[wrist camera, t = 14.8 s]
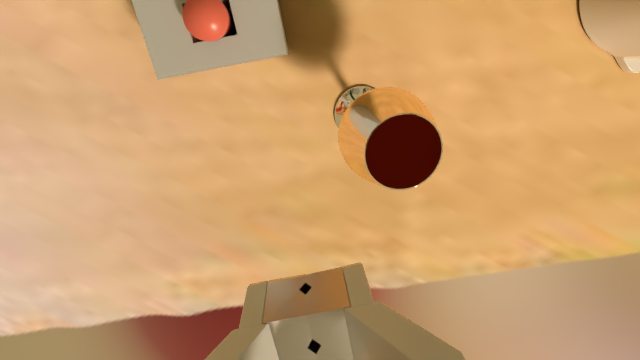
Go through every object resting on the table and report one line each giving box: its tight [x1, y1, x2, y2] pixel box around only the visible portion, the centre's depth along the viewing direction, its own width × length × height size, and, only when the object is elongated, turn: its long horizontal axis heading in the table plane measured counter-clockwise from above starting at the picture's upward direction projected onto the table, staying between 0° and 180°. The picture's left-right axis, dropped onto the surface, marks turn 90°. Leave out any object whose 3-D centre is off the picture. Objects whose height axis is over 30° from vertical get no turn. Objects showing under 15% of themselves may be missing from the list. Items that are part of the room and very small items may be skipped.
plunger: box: [183, 0, 237, 42], centre depth 33 cm, size 4×4×9 cm
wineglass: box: [334, 86, 443, 190], centre depth 34 cm, size 8×8×18 cm
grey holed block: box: [132, 0, 289, 80], centre depth 34 cm, size 12×8×8 cm, turn 100°
